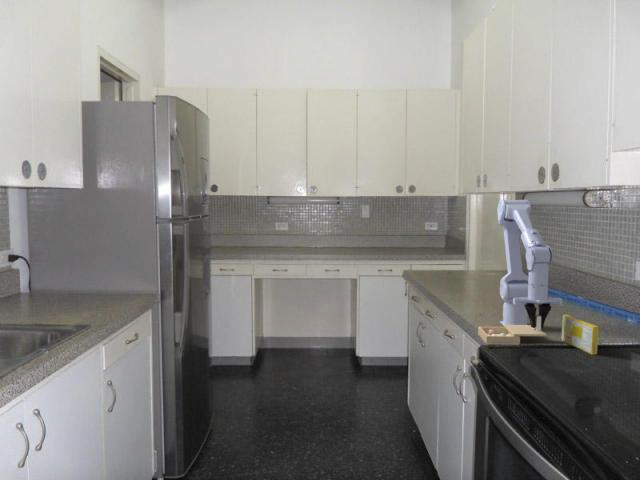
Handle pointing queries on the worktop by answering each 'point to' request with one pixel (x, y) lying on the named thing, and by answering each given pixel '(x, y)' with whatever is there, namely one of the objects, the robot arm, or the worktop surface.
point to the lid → (526, 328)
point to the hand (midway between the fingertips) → (536, 327)
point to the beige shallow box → (498, 336)
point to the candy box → (580, 334)
